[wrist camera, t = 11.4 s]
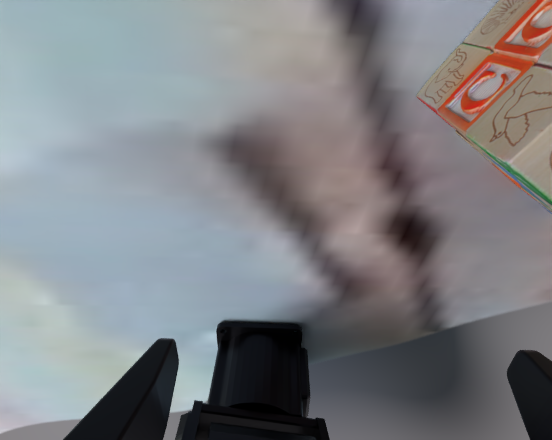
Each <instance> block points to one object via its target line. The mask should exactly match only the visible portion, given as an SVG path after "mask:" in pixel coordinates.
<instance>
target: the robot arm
mask: <svg viewBox="0 0 552 440" xmlns="http://www.w3.org/2000/svg"><path fill="white" fill-rule="evenodd" d="M294 331H297V332H294ZM216 332H217V343H218V352H217V357H216V362H215V367H214V372H213V378H212V383H211V388H210V393H209V398H208V403H207V404H206V403H203V401H196V400H195V401H194V405H193V409H192V411H190V412H188V413H186V414H184V415H181V418H180V423H179V427H178V431H177V434H176V438H175V440H330V439H329V435H328V431H327V427H326V423H325V420H324V419H323V418H316V419H312V418H306V417H307V416H308V411H309V402H310V385H309V370H308V355H307V350H306V349H305V348H302V347H301V341H302V328H301V327H300V326H299V325H287V324H255V323H219V324H218V326H217V331H216ZM178 365H179V359H178V353H177V347H176V342H175V340H174V339H167V338H161V339H158V340H157V341H156V342H155V343H154V344H153V345H152V346H151V347H150V348H149V349H148V350H147V351H146V352H145V353H144V354H143V355H142V357H141V358H140V359H139V360H138V361H137V362H136V363H135V364H134V365H133V366H132V367H131V368H130V369H129V370H128V371H127V372H126V373H125V374H124V376H123V377H122V378H121V379H120V380H119V381H118V382H117V383H116V384H115V385H114V386H113V387H112V388H111V389H110V390H109V391H108V392H107V394H106V395H105V396H104V397H103V398H102V399H101V400H100V401H99V402H98V403H97V404H96V405H95V406H94V407H93V408H92V409H91V410H90V412H89V413H88V414H87V415H86V416H85V417H84V418H83V419H82V420H81V421H80V422H79V423H78V424H77V425H76V426H75V427H74V429H73V430H72V431H71V432H70V433H69V434H68V435H67V436H66V437H65V438H64V439H63V440H163V437H164V434H165V430H166V426H167V421H168V417H169V412H170V407H171V402H172V397H173V392H174V386H175V381H176V376H177V371H178ZM507 377H508V381H509V384H510V386H511V389H512V392H513V395H514V397H515V400H516V403H517V406H518V408H519V411H520V414H521V416H522V419H523V422H524V425H525V427H526V430H527V432H528V435H529V437H530V440H552V361H551V360H549V359H548V358H546V357H545V356H544V355H542V354H541V353H539V352H537V351H533V350H520V351H518V352H517V353H516V355H515V357H514V358H513V360H512V362H511V364H510V366H509V367H508V370H507Z"/></svg>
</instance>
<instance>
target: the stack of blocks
mask: <svg viewBox="0 0 552 440" xmlns="http://www.w3.org/2000/svg"><path fill="white" fill-rule="evenodd" d="M416 97H417V98H418V99H419V100H421V101H422V102H423V103H424V104H426V105H427V106H428V107H429V108H430V109H432V110H433V111H434V112H435V113H436V114H437V115H439V116H440V117H441V118H442V119H443V120H445V121H446V122H447V123H448V124H449V125H450V126H452V127H453V128H454V129H456V133H457V134H458V135H459V136H460V137H462V138H463V139H464V140H465V141H466V142H467V143H469V144H470V145H471V146H472V147H473V148H474V149H476V150H477V151H478V152H479V153H480V154H481V155H483V156H484V157H485V158H486V159H487V160H489V161H490V162H491V163H492V164H493V165H494V166H495V167H496V168H497V169H498V170H500V171H501V172H502V173H503V174H504V175H505V176H507V177H508V178H509V179H510V180H511V181H512V182H514V183H515V184H516V185H517V186H518V187H519V188H520V189H522V190H523V191H525V192H526V193H527V194H528V195H530V196H531V197H532V198H534V199H535V200H536V201H538V202H539V203H540V204H541V205H542V206H543V207H544V208H545V209H547V210H548V211H549V212H550V213H551V214H552V0H499V1H498V2H497V4H496V5H495V6H494V7H493V8H492V9H491V10H490V12H489V13H488V14H487V15H486V16H485V17H484V18H483V20H482V21H481V22H480V23H479V24H478V25H477V26H476V28H475V29H474V30H473V31H472V32H471V33H470V34H469V35H468V36H467V38H466V39H465V40H464V42H463V43H462V44H460V45H459V46H458V47H457V48H456V49H455V50H454V51H453V53H452V54H451V55H450V56H449V57H448V58H447V59H446V60H445V62H444V63H443V64H442V65H441V66H440V67H439V68H438V70H437V71H436V72H435V73H434V74H433V75H432V77H431V78H430V79H429V80H428V81H427V83H426V84H425V85H424V86H423V88H422V89H421V90H420V91H419V93H418V94H417V96H416Z"/></svg>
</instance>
